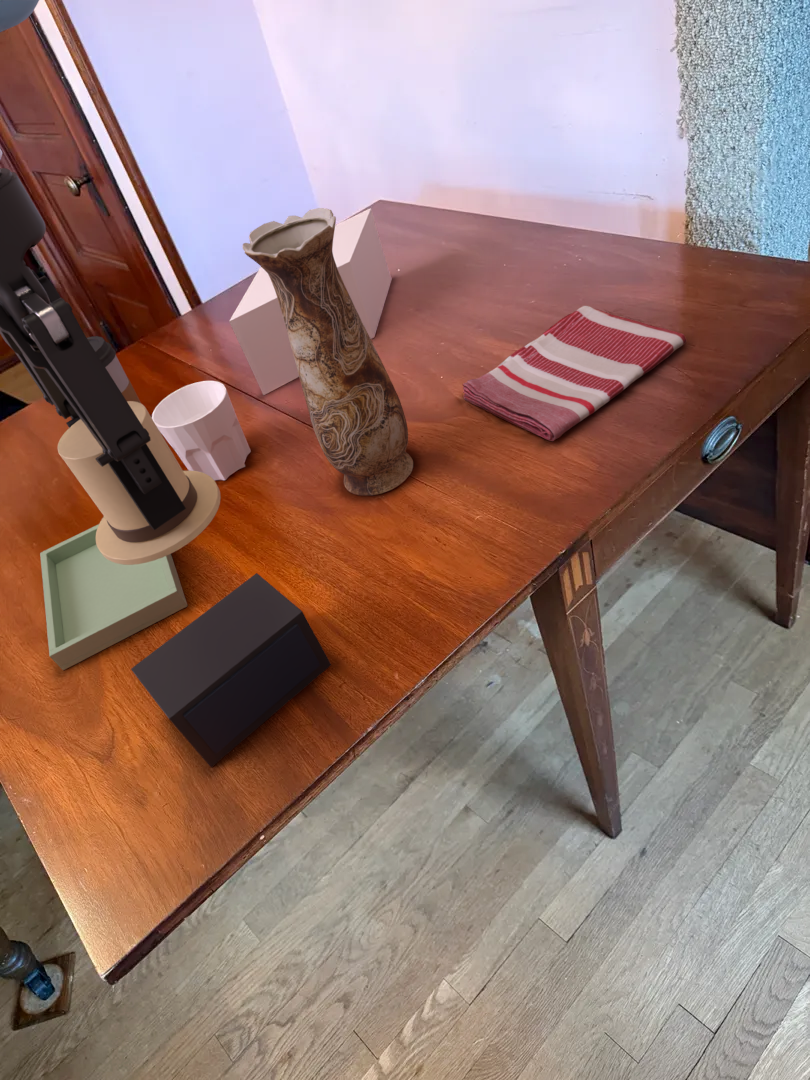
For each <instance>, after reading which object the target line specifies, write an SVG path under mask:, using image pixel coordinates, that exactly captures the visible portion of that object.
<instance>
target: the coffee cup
mask: <svg viewBox="0 0 810 1080" xmlns="http://www.w3.org/2000/svg"><path fill="white" fill-rule="evenodd" d="M86 338H87V339H88V341H89V343H90V344H91V346H92V347H93V349H94V350H95V352H96V354H97V355H98V357H99V358H100V360H101V361H102V363H103V365H104V366H105V368H106V369H107V371H108V373H109V374H110V376H111V377H112V379H113V380H114V382H115V384H116V385H117V387H118V388H119V390H120V391H121V393H122V395H123V396H124V398H125V399H126V401H134V402H139V403H141V404H142V402H141V401H140V398H139V396H138V394H137V393H136V390H135V388H134V386H133V384H132V383H131V381H130V379H129V377H128V376H127V374H126V372H125V370H124V368H123V366H122V363H120V361H119V358H118V356H117V352H116V350H115V349H114V348H113V346H112V344H111V343H109V342H108V341H106V340H105V339H104V337H102V336H98V335H95V336H93V335H92V336H88V337H86Z"/></svg>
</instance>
